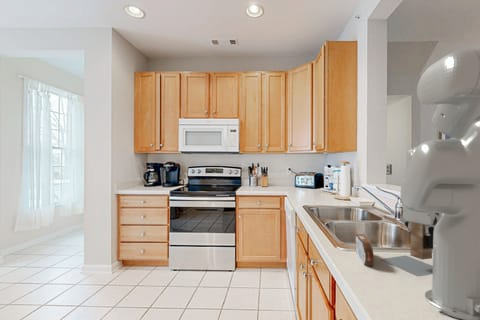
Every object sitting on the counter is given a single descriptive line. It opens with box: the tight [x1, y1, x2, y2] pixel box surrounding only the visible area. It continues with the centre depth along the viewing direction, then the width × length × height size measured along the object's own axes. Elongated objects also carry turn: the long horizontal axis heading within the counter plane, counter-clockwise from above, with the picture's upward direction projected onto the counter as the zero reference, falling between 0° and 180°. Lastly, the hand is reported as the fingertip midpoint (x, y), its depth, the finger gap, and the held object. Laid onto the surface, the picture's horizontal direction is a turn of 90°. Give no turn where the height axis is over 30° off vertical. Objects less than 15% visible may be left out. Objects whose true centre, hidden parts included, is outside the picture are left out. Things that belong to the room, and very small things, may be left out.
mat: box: [379, 255, 433, 277], centre depth 89 cm, size 14×12×1 cm
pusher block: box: [409, 221, 433, 261], centre depth 86 cm, size 4×4×14 cm
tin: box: [355, 233, 375, 267], centre depth 93 cm, size 15×3×8 cm, turn 168°
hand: (421, 245), depth 86 cm, fingers closed on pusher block, 4 cm apart
